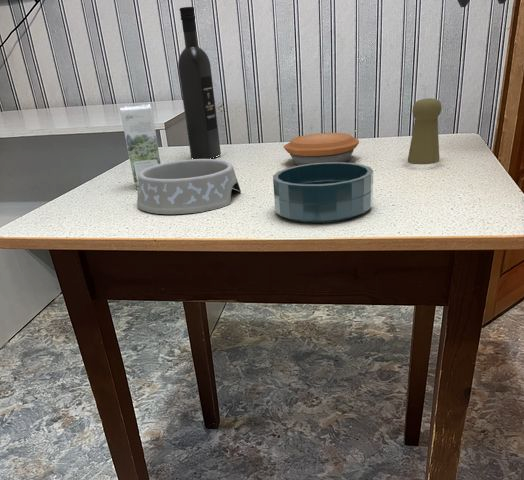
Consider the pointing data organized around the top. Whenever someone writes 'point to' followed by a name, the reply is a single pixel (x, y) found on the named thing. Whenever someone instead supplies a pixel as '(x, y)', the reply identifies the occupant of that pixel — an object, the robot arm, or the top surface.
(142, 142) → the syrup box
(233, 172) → the dog bowl
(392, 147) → the top surface
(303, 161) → the pie
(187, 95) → the wine bottle
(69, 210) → the top surface
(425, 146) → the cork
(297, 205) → the bowl
